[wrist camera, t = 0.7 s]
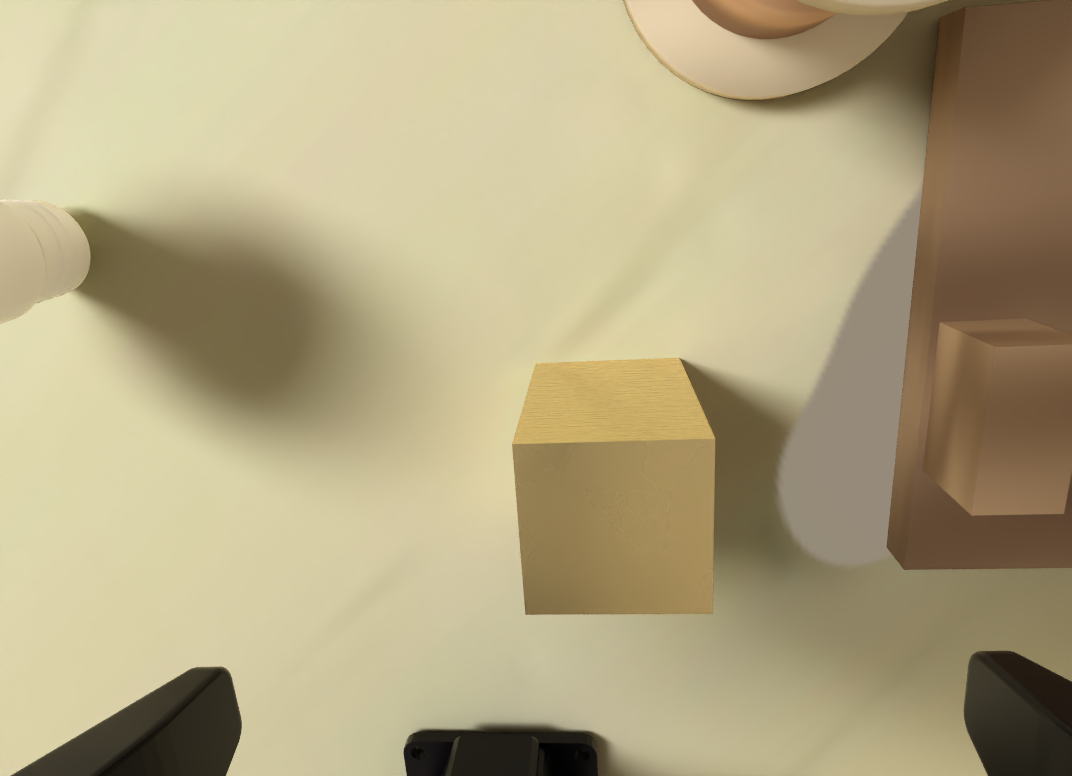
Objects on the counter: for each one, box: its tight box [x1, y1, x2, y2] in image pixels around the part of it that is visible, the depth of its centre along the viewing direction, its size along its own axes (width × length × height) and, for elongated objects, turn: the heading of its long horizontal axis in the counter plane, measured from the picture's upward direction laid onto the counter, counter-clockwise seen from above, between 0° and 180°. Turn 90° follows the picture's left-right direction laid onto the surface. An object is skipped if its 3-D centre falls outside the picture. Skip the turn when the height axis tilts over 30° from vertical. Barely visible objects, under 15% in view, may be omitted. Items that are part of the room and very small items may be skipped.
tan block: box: [512, 358, 715, 615], centre depth 17 cm, size 4×4×6 cm
